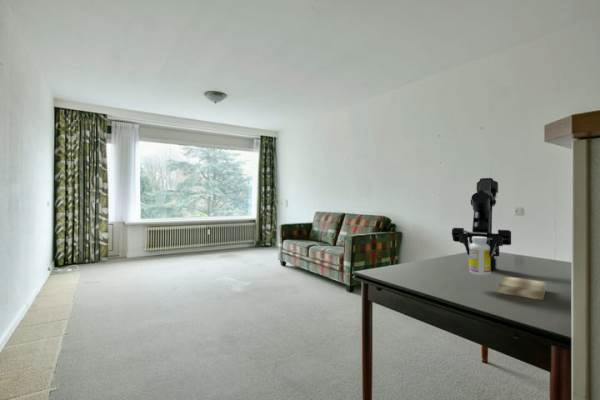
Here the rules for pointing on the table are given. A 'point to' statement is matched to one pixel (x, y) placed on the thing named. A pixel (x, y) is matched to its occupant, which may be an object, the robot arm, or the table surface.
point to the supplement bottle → (479, 256)
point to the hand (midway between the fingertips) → (479, 255)
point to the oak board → (523, 287)
